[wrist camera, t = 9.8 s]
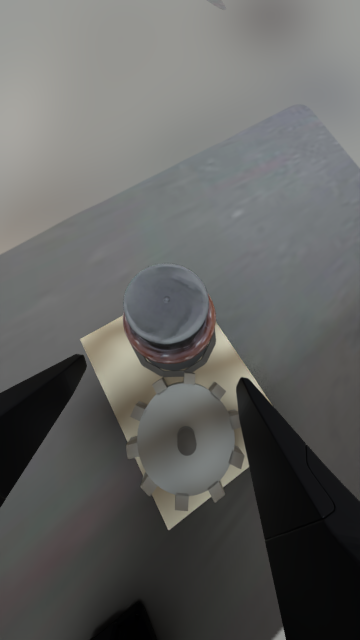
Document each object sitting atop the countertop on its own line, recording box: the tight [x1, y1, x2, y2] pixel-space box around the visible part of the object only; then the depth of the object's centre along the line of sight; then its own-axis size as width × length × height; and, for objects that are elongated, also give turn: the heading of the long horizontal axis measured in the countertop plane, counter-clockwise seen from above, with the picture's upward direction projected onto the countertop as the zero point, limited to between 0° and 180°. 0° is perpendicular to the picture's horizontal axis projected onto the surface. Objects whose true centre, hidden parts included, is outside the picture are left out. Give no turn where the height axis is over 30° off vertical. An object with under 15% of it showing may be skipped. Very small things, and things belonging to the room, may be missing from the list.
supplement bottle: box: [123, 263, 216, 364], centre depth 13 cm, size 6×6×11 cm
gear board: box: [80, 316, 273, 530], centre depth 16 cm, size 20×14×4 cm
